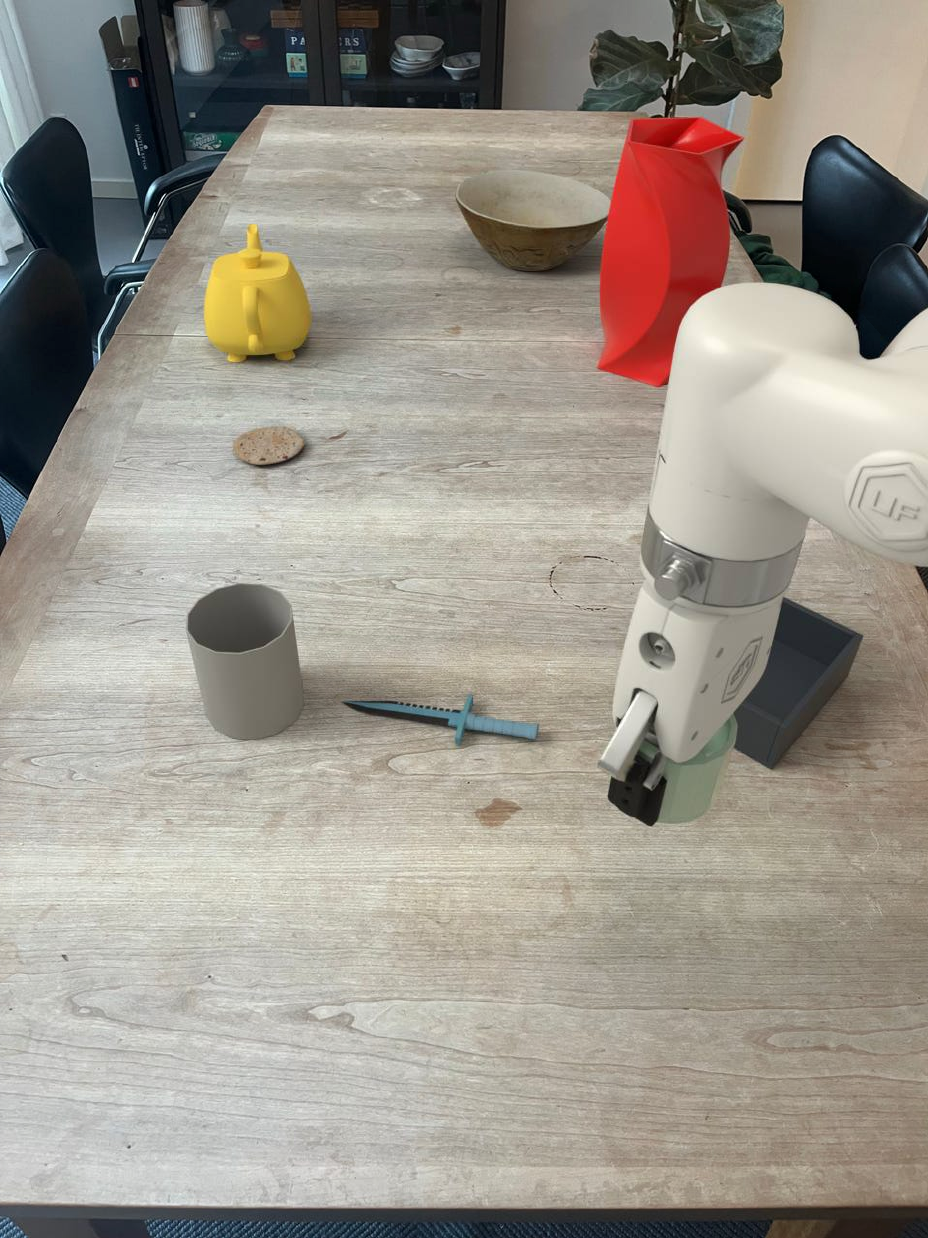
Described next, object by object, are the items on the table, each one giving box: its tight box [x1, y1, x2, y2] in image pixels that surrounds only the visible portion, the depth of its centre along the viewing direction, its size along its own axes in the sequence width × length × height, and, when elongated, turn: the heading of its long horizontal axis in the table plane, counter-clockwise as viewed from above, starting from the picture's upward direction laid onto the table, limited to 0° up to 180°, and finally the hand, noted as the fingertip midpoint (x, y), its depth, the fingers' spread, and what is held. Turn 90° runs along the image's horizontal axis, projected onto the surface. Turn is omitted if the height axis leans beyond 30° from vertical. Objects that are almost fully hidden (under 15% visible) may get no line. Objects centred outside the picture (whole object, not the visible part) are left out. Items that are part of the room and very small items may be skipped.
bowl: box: [454, 168, 611, 272], centre depth 152 cm, size 24×24×10 cm
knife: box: [341, 693, 540, 746], centre depth 85 cm, size 17×1×5 cm
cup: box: [185, 582, 305, 741], centre depth 83 cm, size 8×8×10 cm
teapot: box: [203, 223, 312, 363], centre depth 130 cm, size 14×20×13 cm
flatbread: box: [232, 426, 306, 466], centre depth 115 cm, size 8×8×1 cm
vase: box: [596, 116, 745, 388], centre depth 123 cm, size 15×14×28 cm
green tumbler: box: [608, 714, 738, 825], centre depth 60 cm, size 7×7×6 cm
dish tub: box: [733, 596, 864, 770], centre depth 87 cm, size 14×14×5 cm
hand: (665, 771), depth 61 cm, fingers closed on green tumbler, 6 cm apart
